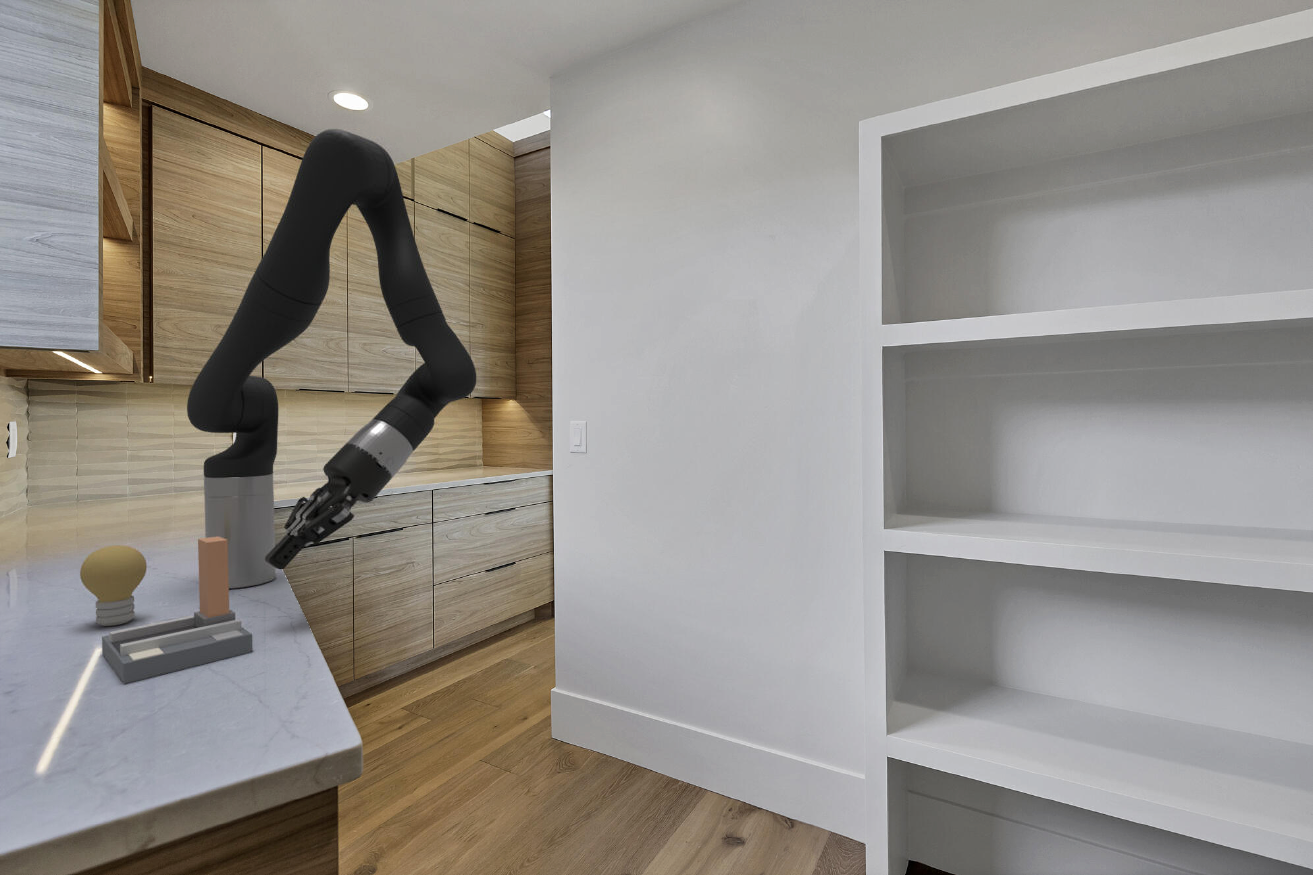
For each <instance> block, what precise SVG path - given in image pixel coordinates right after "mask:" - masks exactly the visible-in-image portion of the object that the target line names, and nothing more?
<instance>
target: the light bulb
mask: <svg viewBox="0 0 1313 875" xmlns="http://www.w3.org/2000/svg"><path fill="white" fill-rule="evenodd" d="M147 567H148V566H147V561H146V558H145V556H144V555H143V554H142V552H140V551H139V550H138V549H136V548H134V547H131V546H129V545H128V546H127V545H109V546H104V547H102V548H99V549H97V550H95V551H93V552H92V553H90V554H89V555H88V556H87V557H86V558H85V559H84V561H83V562H82V564H81V567H80V571H79V577H80V579H81V583H82V584H83V586H84V587H85V589H87V591H88V592H90V593H91V594H92V595H93V596H95V597H96V599H97V601H95V608H96V610H95V615H96V617H95V622H96V623H97V625H100V626H102V627H114V626H118V625H123V624H126V623H129V622H130V621H131V620H132V619H133V618H135V615H136V613H135V603H134V602H135V597H134V595H133V592H134V591H135V590H136V589H137V588H138V586H139V585H140V583H141V582H142V581H143V579H144V578H145V576H146V573H147Z"/></svg>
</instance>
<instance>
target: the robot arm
mask: <svg viewBox="0 0 1313 875" xmlns="http://www.w3.org/2000/svg"><path fill="white" fill-rule="evenodd" d="M402 190H403V189H402V186H401V183H400V178H399V175H398V171H397V169H396V165H395V164H394V161H393V159H392V157H391V155H390V154H389V153H388V151H387V150H386V149H385V148H384V147H382V146H381V145H380V144H378V143H377V142H375V141H374V140H371V139H369V138H366V137H364V136H360V135H358V134H355V133H352V132H349V131H347V130H343V129H338V128H328V129H325V130H323V131H321V132H319V133H318V134H317V135H316V136H314V137H313V139H312V140H311V141H310V143H309V144H308V146H307V148H306V150H305V152H304V154H303V158H302V159H301V162H300V164H299V168H298V171H297V174H296V177H295V180H294V183H293V187H292V189H291V192H290V195H289V198H288V201H287V203H286V206H285V209H284V212H283V213H282V216H281V218H280V220H279V223H278V225H277V226H276V229H275V230H274V233H273V235H272V237H271V239H270V241H269V244H268V246H267V248H266V250H265V252H264V254H263V256H262V257H261V259H260V261H259V264H258V265H257V266H256V269H255V271H254V273H253V275H252V277H251V279H250V281H249V282H248V286H247V288H246V290H245V292H244V294H243V297H242V299H241V301H240V304H239V306H238V308H237V309H236V311H235V314H234V316H233V317H232V319H231V322H230V323H229V325H228V327H227V329H226V331H225V332H224V335H223V337H222V338H221V339H220V342H219V343H218V344H217V345H216V347H215V349H214V350H213V352H212V353H211V355H210V356H209V358H208V359H207V361H206V362H205V364H204V365H203V367H202V369H201V371H200V372H199V373H198V375H197V377H196V378H195V380H194V382H193V384H192V386H191V388H190V391H189V394H188V398H187V401H186V402H187V403H186V404H187V405H186V411H187V412H186V413H187V418H188V420H189V421H190V424H191V425H192V426H193V427H194V428H196V429H197V430H199V431H201V432H205V433H213V434H216V433H217V434H232V433H233V434H235V440H234V442H233V443H232V444H231V446H229V447H227V448H226V449H225V450H223V451H221V452H219V453H217V454H213V455H211V456H209V457H208V458H206V459H205V460H204V462H203V476H204V477H203V492H204V494H203V495H204V496H203V497H204V498H203V499H204V526H205V527H204V532H205V533H204V534H205V535H204V538H210V537H218V536H219V537H221V538H224V539H226V540H228V575H229V589H238V588H239V589H240V588H246V587H252V586H253V587H254V586H257V585H262V584H265V583H268V582H271V581H273V580H274V579H275V578H276V569H278V570H284V569H285V568H286V567H287V566H288V565H289V564H290V563H291V562H292V561H293V560H294V558H295V557H296V556H297V555H298V554H299V553H300V552H301V551H302V549H303V548H304V547H309V546H310V545H311V544H312V543H313V544H314V545H317V544H320V542H322V541H323V540H325V539H326V538H328V537H329V536H331V535H332V534H334V533H335V532H337V531H338V530H339V529H341V528H342V527H344V526H345V525H347V524H348V523H349V522H351V521H352V520H353V519H354V518H355V515H354V514H353V513H352V512H351V510H352V507H354V506H355V505H356V504H357V501H359V502H362V503H370V502H372V501H373V500H374V499H375V498H376V497H377V495H379V494H380V492H382V490H383V489H384V488H385V486H387V484H389V482H390V481H391V480H392V479H393V478H394V477H395V476H396V475H397V473H398V472H399V471H400V470H401V468H403V466H404V465H405V464H406V462H407V461H408V460H409V458H410V456H411V455H412V454H413V453H414V451H415V450H416V449H417V448H418V447H419V446H420V445H421V443H422V442H424V440H425V439H426V438H427V437H428V435H429V434H430V433H431V431H432V430H433V428H434V426H435V419H436V418H437V417H438V415H439V414H440V413H441V411H443V409H444V408H445V407H446V406H448V405H449V404H450V403H452V402H456V401H459V400H462V399H465V398H466V397H468V396H469V395H471V394H472V393H473V391H474V389H475V387H476V385H477V372H476V371H477V370H476V367H475V364H474V361H473V359H472V357H471V355H470V353H469V352H468V350H467V349H466V348H465V346H464V344H463V343H462V341H461V340H460V338H459V337H458V336H457V334H456V333H455V332H454V330H453V329H452V328H451V327H450V325H449V324H448V323H447V320H446V317H445V315H444V311H443V310H442V308H441V305H440V303H439V300H438V297H437V295H436V292H435V290H434V288H433V287H432V284H431V282H430V279H429V277H428V274H427V271H426V269H425V266H424V264H423V260H422V258H421V255H420V252H419V251H420V250H419V248H418V245H417V241H416V239H415V236H414V232H413V228H412V225H411V222H410V221H411V220H410V218H409V214H408V209H407V206H406V203H405V199H404V194H403V191H402ZM352 205H353V206H356V207H357V210H358V211H359V213H360V214H361V215H362V216H361V217H363V219H364V221H365V223H366V224H367V227H368V228H369V231H370V233H371V236H372V239H373V241H374V246H375V250H376V257H377V268H378V269H377V270H378V279H379V285H380V290H381V294H382V297H383V301H384V303H385V306H386V307H387V310H388V312H389V314H390V315H389V316H390V317H391V320H392V322H393V323H394V326H395V328H396V331H397V333H398V334H399V337H400V338H401V340H402V341H403V343H404V344H405V345H407V346H410V347H414V348H415V349H416V351H418V354H419V355H420V357H421V358H422V361H423V363H422V364H421V365H419V367H417V369H415V370H414V371H413V372H412V374H410V376H409V377H408V378H407V380H405V383H404V384H403V385H402V386H401V388H400V389H399V390H398V392H397V393H396V394H395V396H394V398H392V399H391V400H390V401H389V402H388V403H387V404H385V406H384V407H383V408H382V409H381V410H380V411H379V412H378V413H377V414H375V416H374V417H373V418H372V419H371V420H370V421H369V422H368V423H366V424H365V425H364V426H363V427H361V428H360V429H359V430H357V432H355V434H354V435H352V437H351V438H350V439H349V440H348V441H346V443H345V444H344V445H343V446H342V447H341V448H340V449H339V450H338V451H337V452H336V453H335V454H334V455H333V456H332V457H331V458H330V459H329V460H328V461H327V462H326V463H325V465H324V466H323V473H324V475H325V476H326V477H327V482H326V483H325V484H324V485H322V486H321V487H317V488H315V490H314V491H313V492H312V493H311V494H310V496H309V499H308V498H307V497H305V496H302V497H300V498H299V499H298V500H297V502H296V503H295V506H294V508H292V511H291V513H290V515H289V517H288V519H287V520H286V522H285V524H284V526H283V529H285V532H284V533H285V535H284V536H283V537H282V538H281V539H280V541H278V543H277V544H276V543H275V542H276V535H275V534H276V533H275V532H276V531H275V500H274V499H275V497H274V496H275V495H274V494H275V493H274V464H275V461H276V458H277V454H278V432H279V399H278V395H277V392H276V389H275V386H273V383H271V382H270V381H269V380H268V379H267V378H265V377H263V376H257V375H256V376H255V375H251V374H253V372H254V370H255V369H256V368H257V367H258V366H259V365H260V364H261V363H262V362H263V361H264V360H266V359H267V358H269V357H270V356H271V355H273V354H275V353H276V352H278V351H279V350H281V349H282V348H284V347H285V346H287V345H289V343H291V342H293V341H294V340H295V339H297V338H298V337H299V336H300V335H301V334H303V333H304V332H305V331H306V330H307V329H308V328H310V325H311V324H312V323H313V320H314V319H315V317H316V315H317V313H318V311H319V310H320V307H321V306H322V304H323V302H324V300H325V298H326V296H327V292H328V290H329V285H330V278H331V276H330V272H331V268H330V267H331V264H330V262H331V260H330V259H331V258H330V253H331V246H332V242H333V239H334V236H335V234H336V231H337V229H338V228H339V226H340V224H341V222H342V220H343V219H344V217H345V216H346V214H347V212H348V211H349V209H350V208H351V207H352Z"/></svg>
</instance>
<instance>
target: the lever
mask: <svg viewBox="0 0 1313 875" xmlns="http://www.w3.org/2000/svg"><path fill="white" fill-rule="evenodd" d="M197 550H198V553H197V554H198V555H197V556H198V588H199V589H198V591H199V592H198V595H199V611H194V612H193V615H194V625H195V626H196V627H197V628H200V627H204V626H209V625H214V624H218V623H223V622H228V621H232V620H236V612H235V611H233V610H232V609H231V608H230V588H229V575H228V540H226V539H224V538H221V537H219V536H218V537H210V538H205V537H202V538H198V539H197Z"/></svg>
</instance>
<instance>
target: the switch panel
mask: <svg viewBox="0 0 1313 875" xmlns="http://www.w3.org/2000/svg"><path fill="white" fill-rule="evenodd" d="M101 645H102V646H101V648H102V650H101V651H102V656H103V658H105V660H106V662H108V664H109V665H110V667H111V668H112V670H113V671H114V673H115V674H116V675H117V677H118V678H119V680H120V681H121V682H122V684H124V685H125V684H129V683H133V682H137V681H142V680H145V679H149V678H154V677H157V676H162V675H165V674H170V673H173V672H178V671H181V670H185V669H189V668H193V667H198V666H201V665H204V664H210V663H212V662H218V661H221V660H224V659H229V658H232V657H236V656H241V655H245V654H250V653H252V652H253V633H252V632H250V631H248V629H245V628H243V627H242V620H240V619H235V620H232V621H228V622H223V623H218V624H214V625H209V626H204V627H200V628H197V627H196V626H195V625H194V614H193V615H188V616H183V617H179V618H174V619H169V620H163V621H159V622H154V623H153V622H152V623H149V624H144V625H138V626H133V627H129V628H123V629H119V630H113V631H109V635H103V636H101ZM161 674H162V675H161Z"/></svg>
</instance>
